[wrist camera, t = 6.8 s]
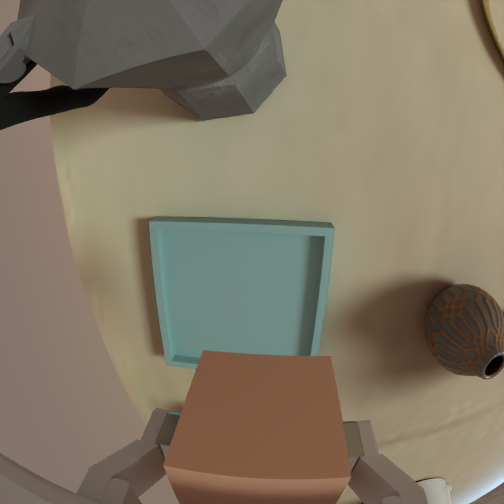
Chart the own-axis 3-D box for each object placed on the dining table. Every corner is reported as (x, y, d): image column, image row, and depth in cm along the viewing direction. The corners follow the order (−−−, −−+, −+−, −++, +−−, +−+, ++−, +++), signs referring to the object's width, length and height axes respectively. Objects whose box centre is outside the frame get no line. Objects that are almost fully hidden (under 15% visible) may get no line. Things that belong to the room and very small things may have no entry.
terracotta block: (330, 356, 10) (351, 477, 6) (312, 432, 12) (318, 530, 7) (203, 349, 11) (163, 465, 6) (211, 426, 12) (188, 521, 7)
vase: (485, 307, 23) (533, 358, 15) (432, 352, 25) (468, 414, 17) (461, 257, 22) (520, 304, 14) (402, 309, 24) (442, 374, 16)
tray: (312, 366, 26) (314, 376, 25) (171, 355, 27) (166, 365, 26) (331, 223, 22) (334, 228, 21) (156, 216, 23) (148, 221, 21)
